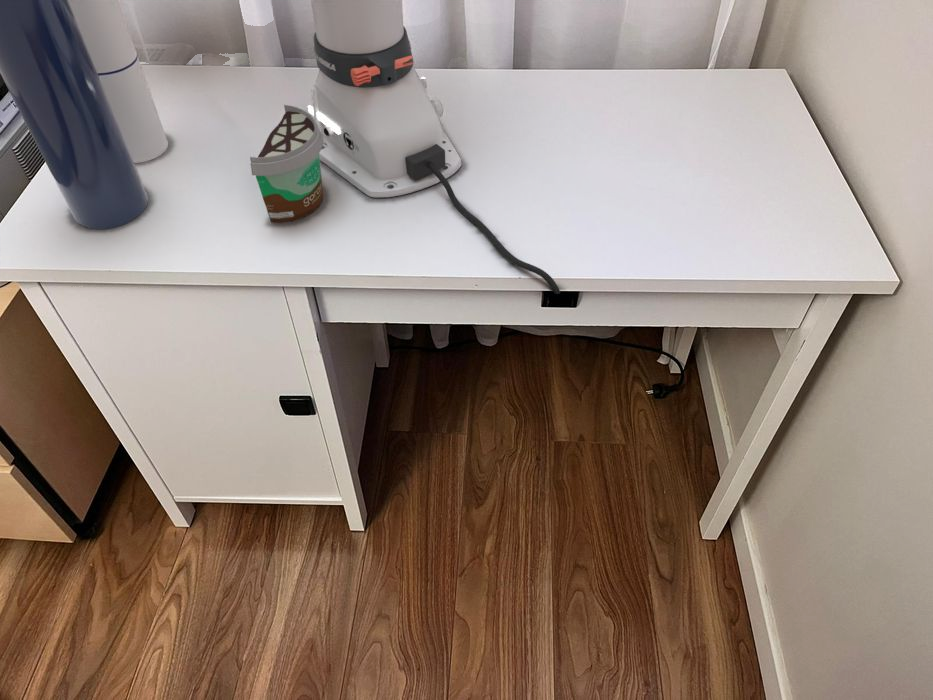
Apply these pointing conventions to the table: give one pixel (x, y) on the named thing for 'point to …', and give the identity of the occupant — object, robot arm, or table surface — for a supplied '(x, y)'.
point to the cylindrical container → (121, 76)
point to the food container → (291, 167)
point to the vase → (68, 112)
